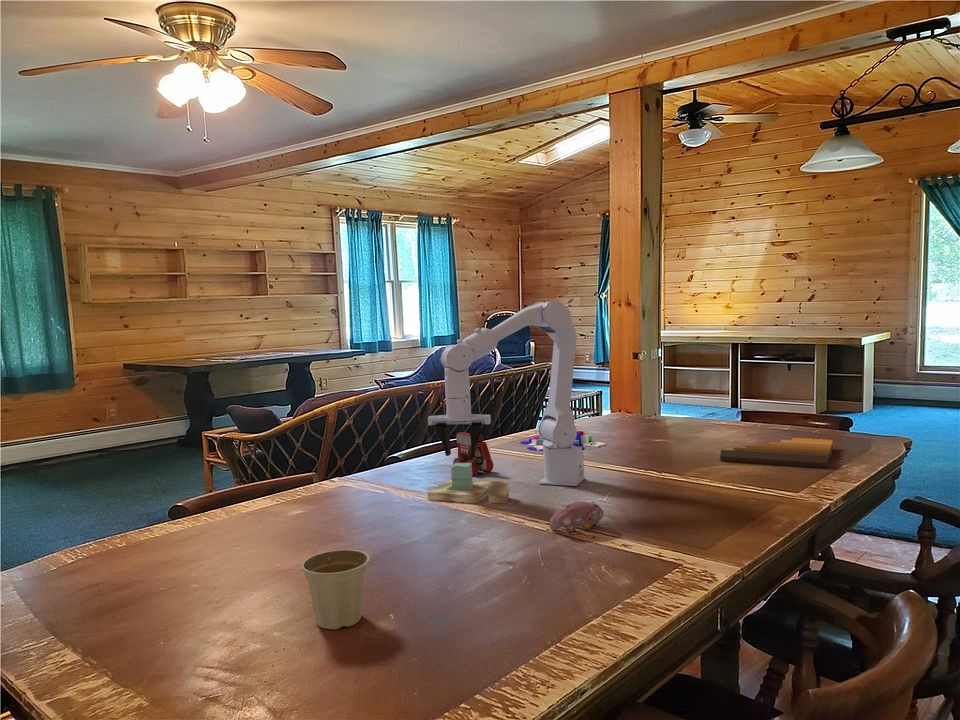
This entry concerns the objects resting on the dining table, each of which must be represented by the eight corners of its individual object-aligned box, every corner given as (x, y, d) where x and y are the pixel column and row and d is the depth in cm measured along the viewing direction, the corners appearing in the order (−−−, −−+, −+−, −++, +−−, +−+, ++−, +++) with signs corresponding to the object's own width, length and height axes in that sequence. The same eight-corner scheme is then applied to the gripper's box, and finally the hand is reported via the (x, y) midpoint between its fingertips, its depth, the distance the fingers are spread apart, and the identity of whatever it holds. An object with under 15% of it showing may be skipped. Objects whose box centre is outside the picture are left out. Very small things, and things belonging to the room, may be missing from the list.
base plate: (496, 489, 162) (496, 482, 162) (475, 503, 151) (475, 495, 151) (451, 486, 167) (451, 479, 167) (428, 499, 156) (427, 492, 156)
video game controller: (555, 542, 128) (560, 514, 125) (546, 525, 132) (551, 498, 128) (602, 535, 131) (609, 507, 127) (592, 519, 135) (598, 491, 131)
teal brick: (473, 487, 161) (471, 462, 160) (469, 492, 157) (468, 466, 156) (456, 487, 162) (454, 463, 161) (452, 492, 158) (451, 467, 157)
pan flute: (720, 463, 179) (826, 471, 166) (719, 451, 179) (826, 457, 166) (737, 445, 200) (832, 450, 188) (737, 433, 200) (832, 438, 187)
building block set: (506, 449, 211) (505, 435, 211) (544, 438, 227) (544, 424, 226) (575, 457, 195) (574, 442, 195) (611, 444, 210) (610, 430, 210)
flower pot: (377, 604, 101) (373, 547, 100) (368, 633, 92) (364, 571, 91) (313, 608, 101) (309, 550, 100) (298, 638, 91) (294, 575, 91)
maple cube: (508, 498, 155) (508, 480, 154) (506, 503, 151) (505, 485, 150) (491, 498, 155) (490, 480, 155) (488, 503, 151) (487, 485, 151)
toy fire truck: (479, 478, 174) (477, 438, 173) (449, 471, 184) (447, 433, 183) (499, 473, 178) (497, 434, 178) (469, 466, 188) (467, 429, 187)
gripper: (491, 394, 160) (494, 451, 161) (432, 395, 163) (435, 451, 164) (486, 398, 153) (489, 457, 154) (424, 399, 156) (427, 458, 157)
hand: (461, 455), depth 158 cm, fingers open, 5 cm apart
